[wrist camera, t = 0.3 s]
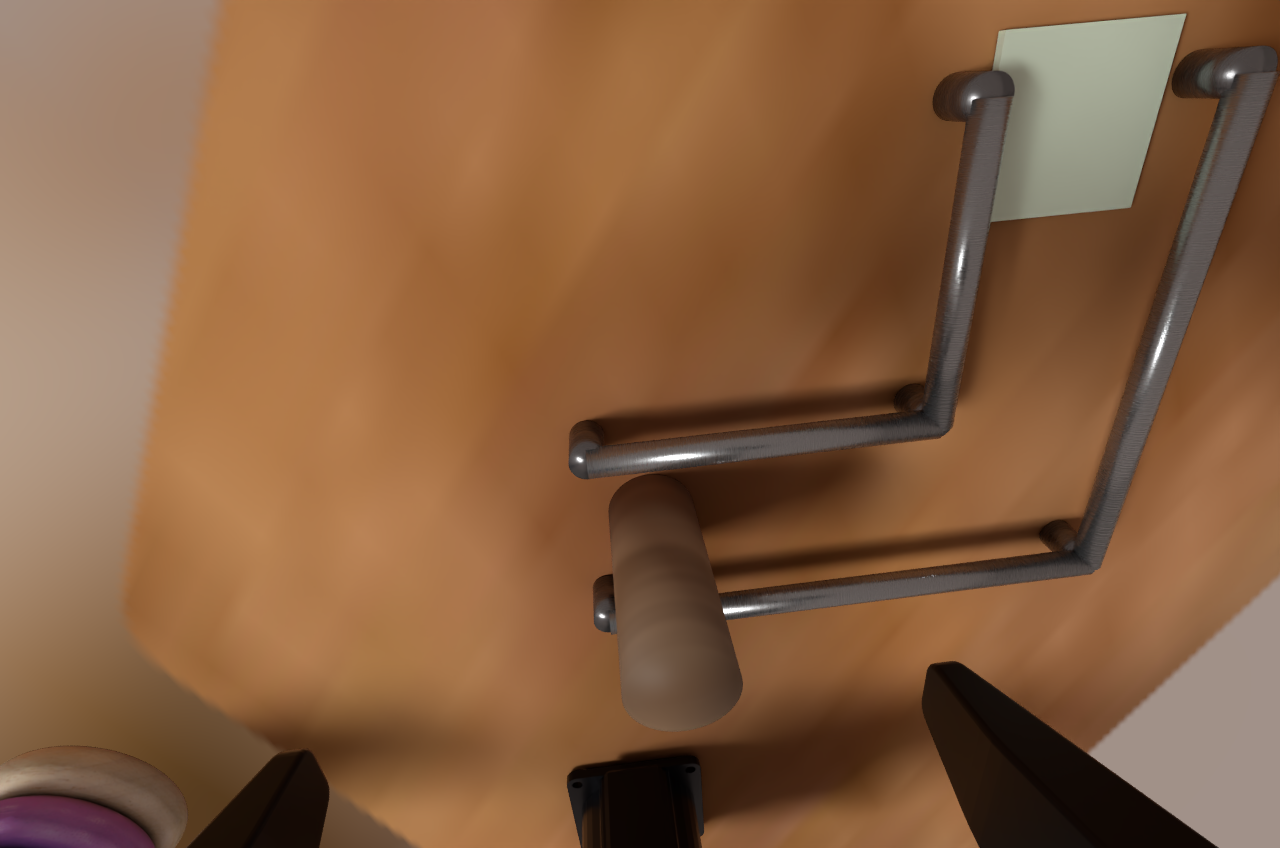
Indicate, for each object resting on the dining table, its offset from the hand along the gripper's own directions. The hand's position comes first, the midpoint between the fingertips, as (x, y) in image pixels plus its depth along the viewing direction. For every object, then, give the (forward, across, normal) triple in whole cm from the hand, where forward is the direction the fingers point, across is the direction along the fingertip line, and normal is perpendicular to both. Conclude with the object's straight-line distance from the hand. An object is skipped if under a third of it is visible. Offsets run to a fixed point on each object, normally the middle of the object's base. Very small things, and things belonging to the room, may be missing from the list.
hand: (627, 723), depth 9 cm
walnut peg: (+13, -1, +6) cm, 14 cm away
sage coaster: (+13, -14, -6) cm, 20 cm away
